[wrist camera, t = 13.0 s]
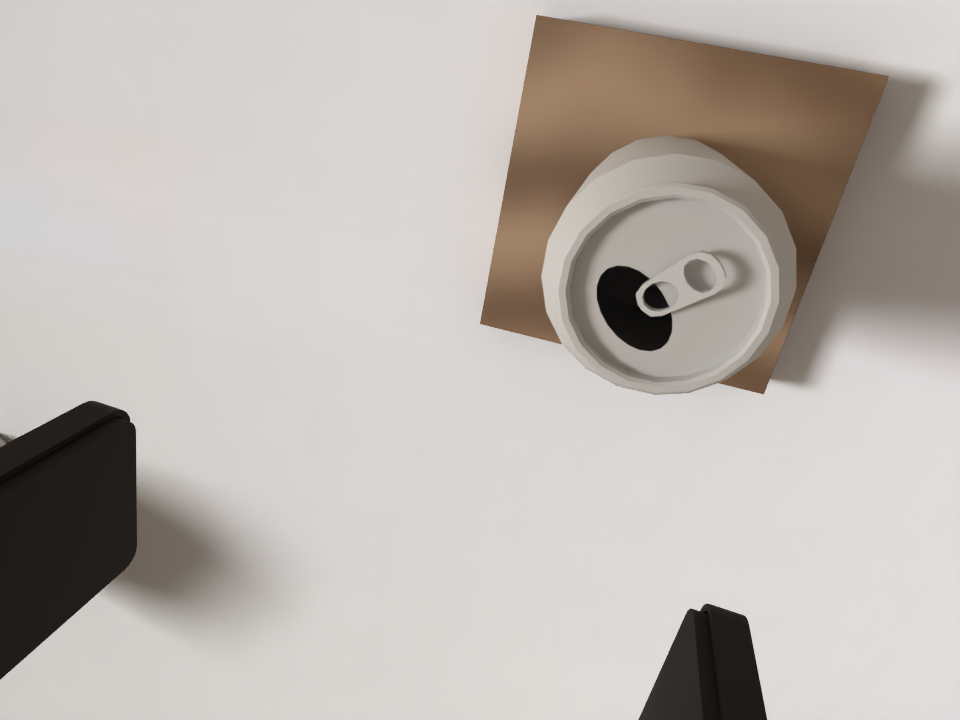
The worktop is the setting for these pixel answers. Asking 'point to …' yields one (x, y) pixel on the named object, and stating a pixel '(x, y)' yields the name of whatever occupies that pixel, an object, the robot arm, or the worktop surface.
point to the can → (668, 268)
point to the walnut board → (675, 112)
